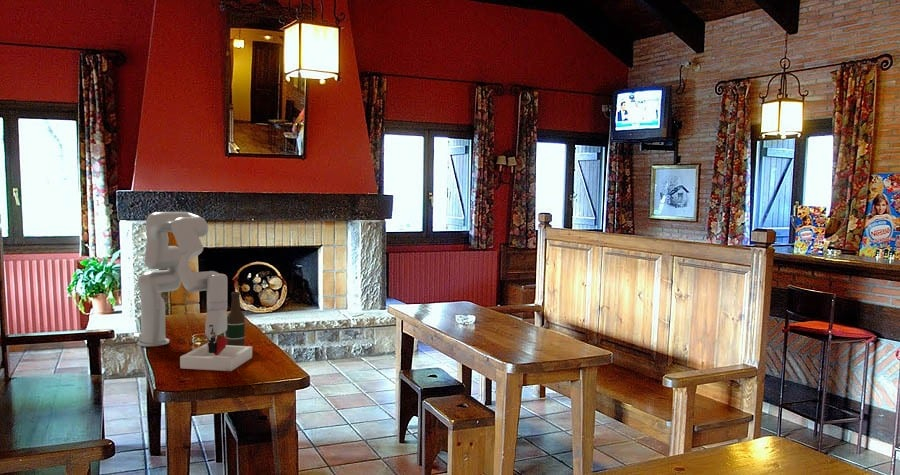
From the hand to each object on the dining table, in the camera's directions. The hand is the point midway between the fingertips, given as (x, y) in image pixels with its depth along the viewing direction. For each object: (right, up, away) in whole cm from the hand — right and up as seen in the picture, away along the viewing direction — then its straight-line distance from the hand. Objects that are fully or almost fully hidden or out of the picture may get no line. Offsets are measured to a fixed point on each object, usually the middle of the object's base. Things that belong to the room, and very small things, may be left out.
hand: (217, 350), depth 255 cm
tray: (0, -5, 0) cm, 5 cm away
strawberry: (0, -2, 0) cm, 2 cm away
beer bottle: (-1, -3, +24) cm, 25 cm away
